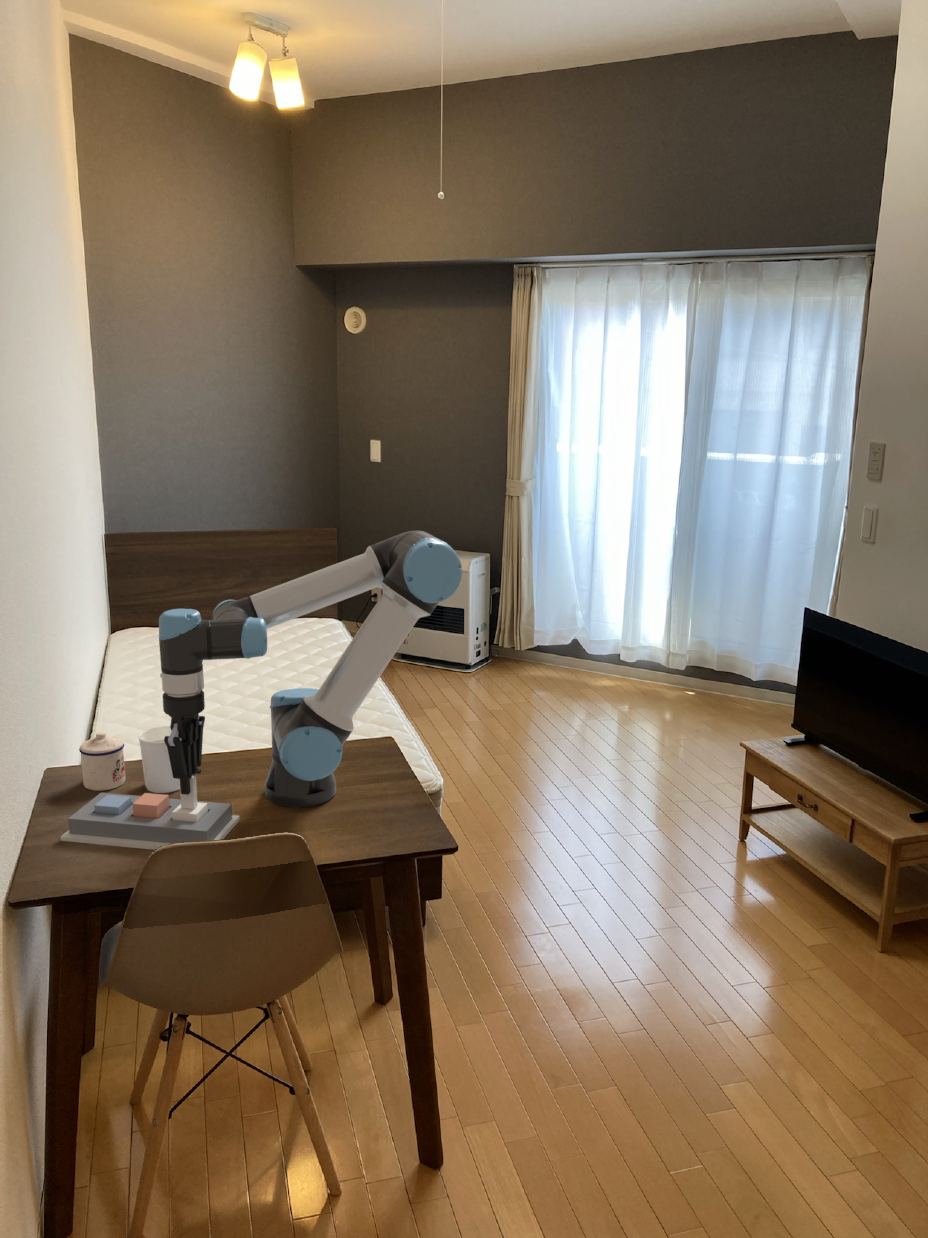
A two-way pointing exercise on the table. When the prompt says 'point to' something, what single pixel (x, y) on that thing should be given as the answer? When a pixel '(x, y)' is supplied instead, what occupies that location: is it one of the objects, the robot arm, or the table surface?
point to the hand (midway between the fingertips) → (189, 806)
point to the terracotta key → (151, 805)
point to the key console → (147, 826)
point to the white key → (190, 813)
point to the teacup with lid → (102, 762)
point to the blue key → (113, 805)
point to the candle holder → (157, 761)
